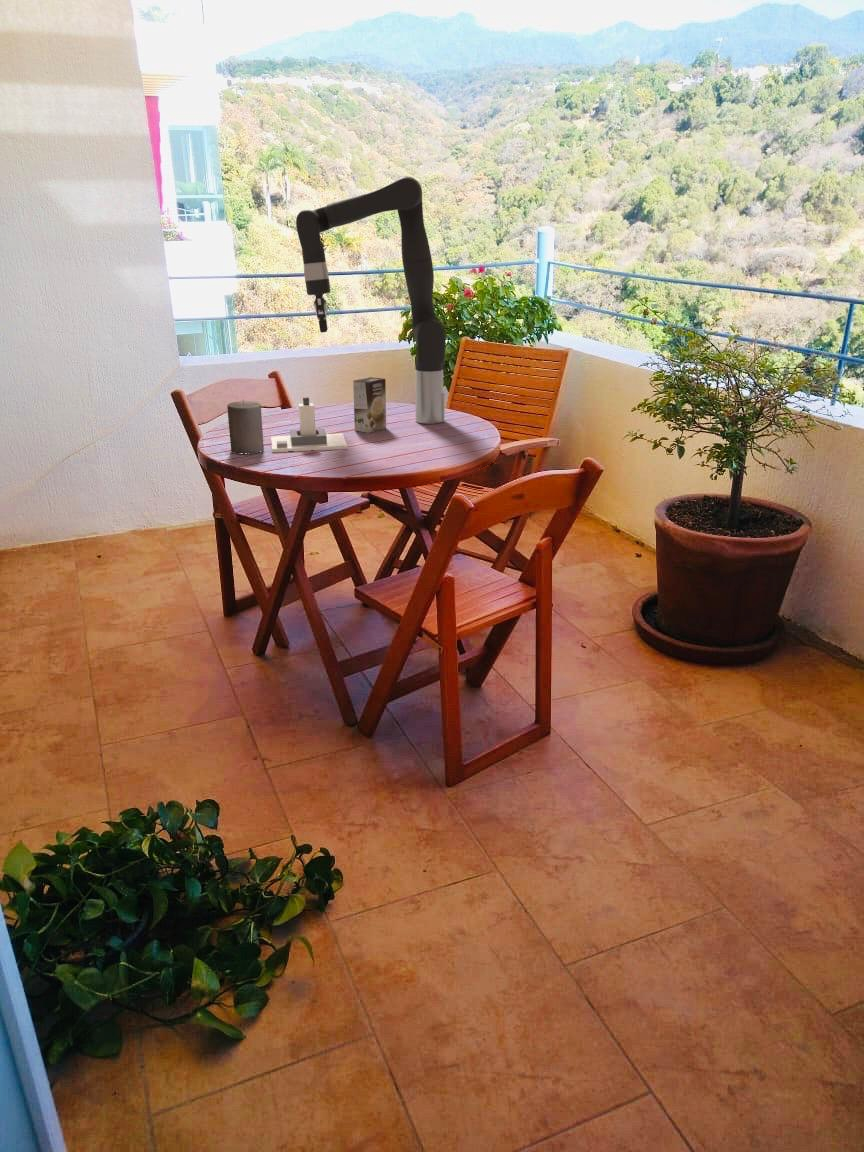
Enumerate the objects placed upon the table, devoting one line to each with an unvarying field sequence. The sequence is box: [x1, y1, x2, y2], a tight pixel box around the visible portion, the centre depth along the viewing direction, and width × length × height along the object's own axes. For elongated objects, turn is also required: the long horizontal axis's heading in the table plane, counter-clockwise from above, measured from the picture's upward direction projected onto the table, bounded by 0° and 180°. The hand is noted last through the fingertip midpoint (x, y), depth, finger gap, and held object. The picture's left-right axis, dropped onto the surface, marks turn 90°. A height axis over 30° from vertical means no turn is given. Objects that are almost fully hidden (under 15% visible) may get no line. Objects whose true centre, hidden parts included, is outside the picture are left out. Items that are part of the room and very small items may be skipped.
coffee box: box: [352, 376, 387, 434], centre depth 268 cm, size 9×6×16 cm
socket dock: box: [270, 427, 348, 453], centre depth 252 cm, size 22×16×4 cm
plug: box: [298, 396, 317, 435], centre depth 250 cm, size 4×4×13 cm
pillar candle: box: [226, 399, 265, 455], centre depth 243 cm, size 10×10×15 cm
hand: (324, 331), depth 269 cm, fingers open, 8 cm apart
